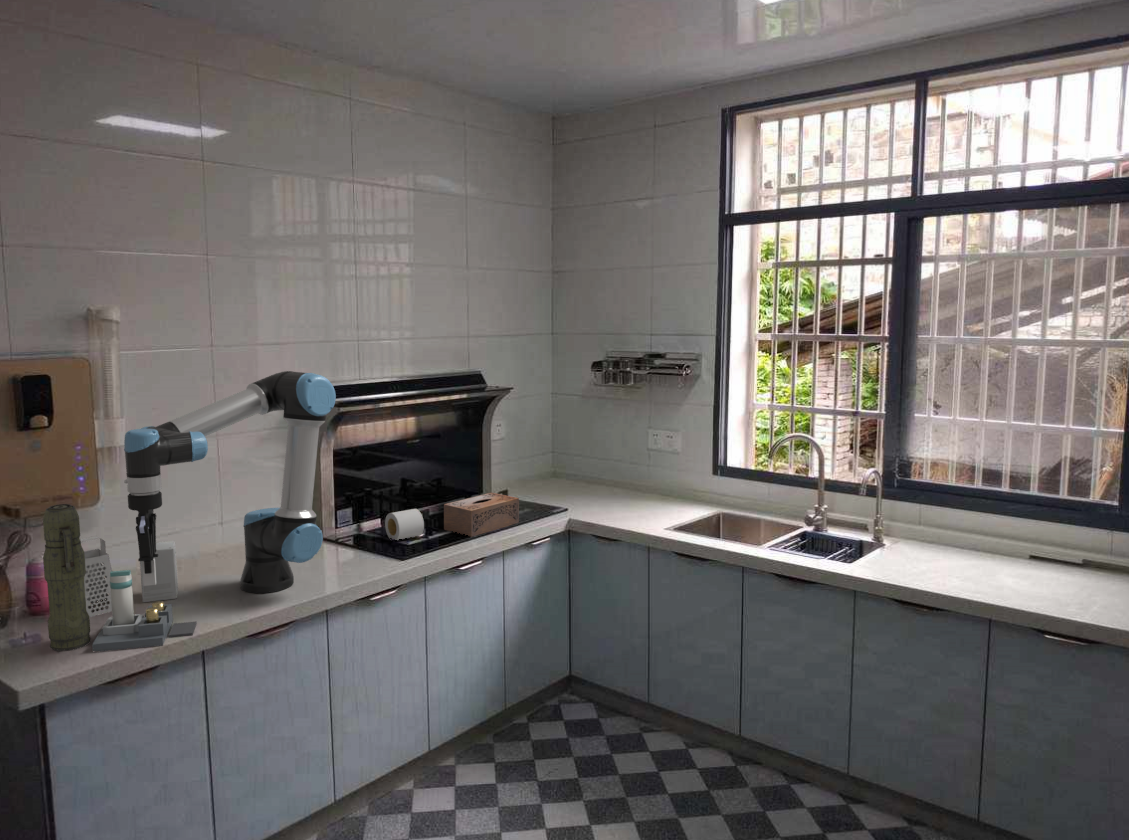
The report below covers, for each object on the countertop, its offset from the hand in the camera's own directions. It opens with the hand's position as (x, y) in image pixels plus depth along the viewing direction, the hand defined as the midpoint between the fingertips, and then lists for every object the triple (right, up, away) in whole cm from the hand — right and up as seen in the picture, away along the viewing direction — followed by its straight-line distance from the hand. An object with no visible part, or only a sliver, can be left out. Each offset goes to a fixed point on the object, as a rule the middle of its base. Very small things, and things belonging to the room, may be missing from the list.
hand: (149, 584), depth 211 cm
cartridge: (-8, -12, +4) cm, 15 cm away
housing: (-6, -14, +4) cm, 16 cm away
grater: (-26, -11, +22) cm, 36 cm away
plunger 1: (-2, -11, +10) cm, 15 cm away
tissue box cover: (+72, 0, +111) cm, 132 cm away
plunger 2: (0, -10, +1) cm, 10 cm away
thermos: (-19, -15, -1) cm, 24 cm away
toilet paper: (+46, -2, +94) cm, 104 cm away
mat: (+5, -13, +8) cm, 16 cm away
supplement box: (-13, -10, +33) cm, 37 cm away
